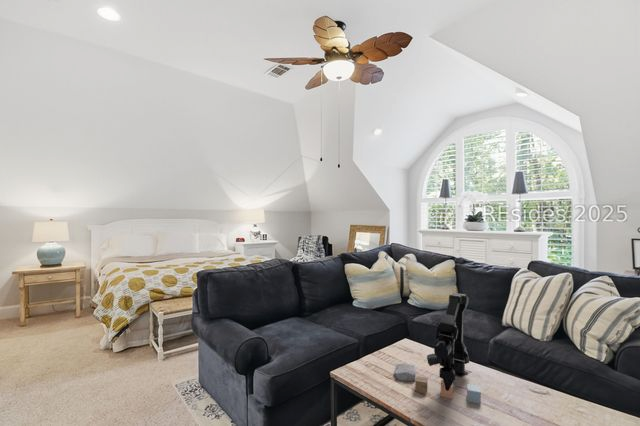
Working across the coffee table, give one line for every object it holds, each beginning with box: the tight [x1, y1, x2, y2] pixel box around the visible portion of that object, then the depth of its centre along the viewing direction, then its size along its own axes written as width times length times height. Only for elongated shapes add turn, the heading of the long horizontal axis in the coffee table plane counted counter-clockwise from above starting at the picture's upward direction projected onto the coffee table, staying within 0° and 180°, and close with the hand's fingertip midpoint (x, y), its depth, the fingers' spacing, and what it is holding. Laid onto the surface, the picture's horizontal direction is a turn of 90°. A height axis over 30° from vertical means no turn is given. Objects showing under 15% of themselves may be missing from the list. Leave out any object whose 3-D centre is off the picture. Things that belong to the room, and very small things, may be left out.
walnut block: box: [414, 374, 429, 394], centre depth 150 cm, size 5×5×5 cm
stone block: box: [394, 362, 416, 382], centre depth 163 cm, size 12×5×10 cm
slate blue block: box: [466, 383, 482, 405], centre depth 142 cm, size 5×5×5 cm
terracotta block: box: [440, 379, 454, 399], centre depth 146 cm, size 5×5×5 cm
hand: (446, 385), depth 146 cm, fingers open, 9 cm apart
